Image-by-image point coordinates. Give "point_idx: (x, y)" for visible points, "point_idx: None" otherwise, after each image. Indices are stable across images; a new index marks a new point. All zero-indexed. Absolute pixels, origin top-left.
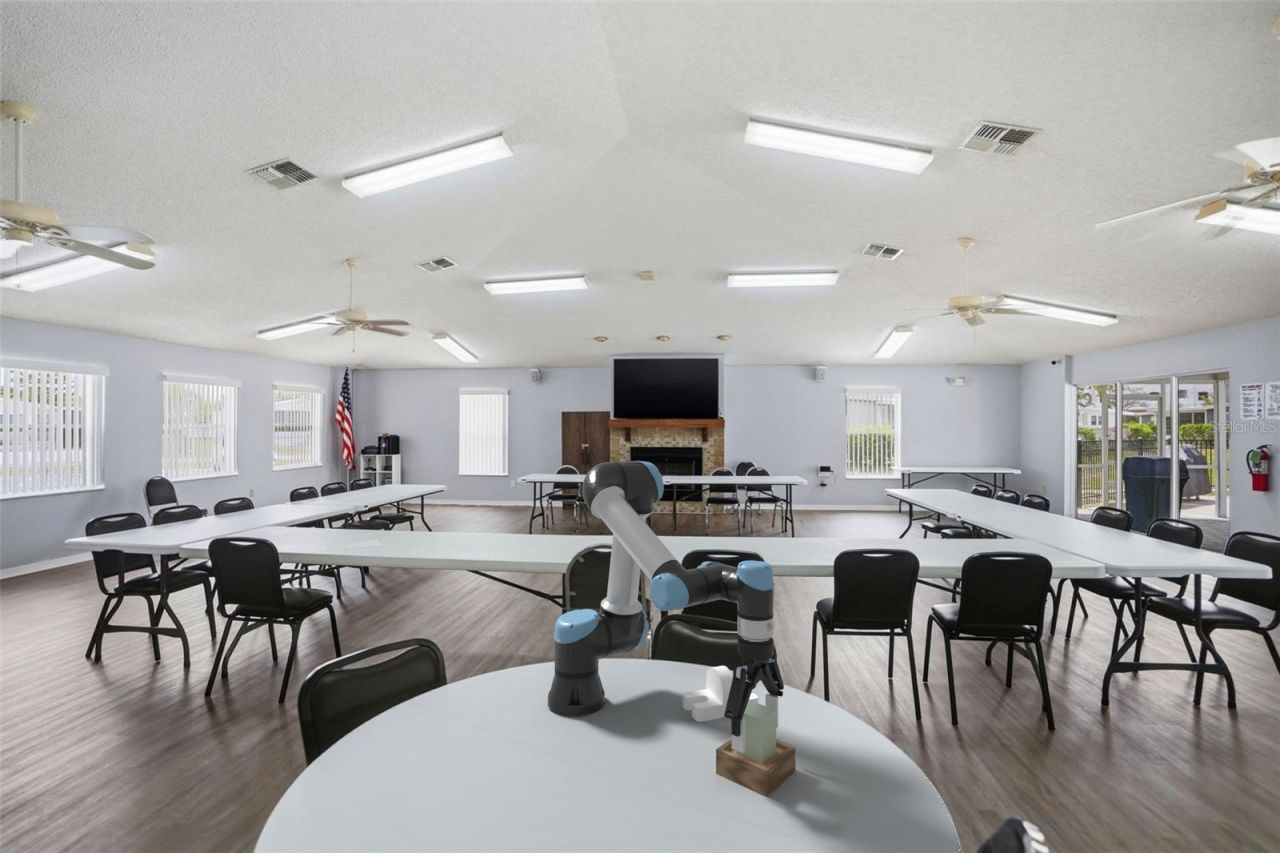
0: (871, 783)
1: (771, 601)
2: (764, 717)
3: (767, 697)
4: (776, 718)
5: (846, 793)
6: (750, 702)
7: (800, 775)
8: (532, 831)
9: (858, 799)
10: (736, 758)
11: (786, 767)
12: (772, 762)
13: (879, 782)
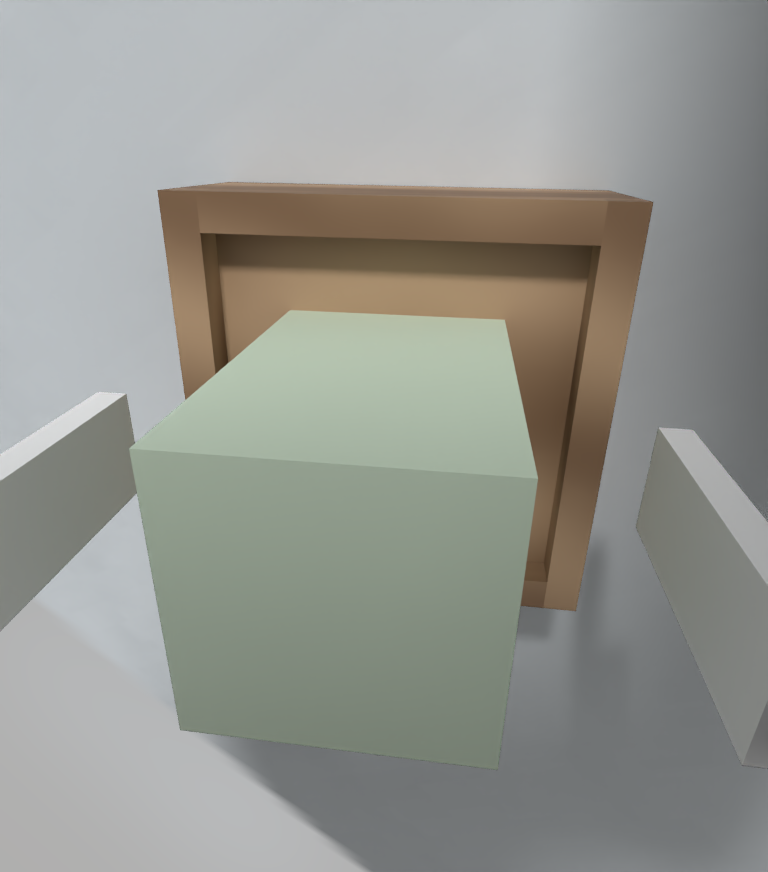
0: (655, 777)
1: None
2: (242, 737)
3: (765, 631)
4: (660, 580)
5: (516, 724)
6: (481, 490)
7: None
8: None
9: (504, 759)
10: (184, 377)
11: None
12: None
13: (682, 797)
